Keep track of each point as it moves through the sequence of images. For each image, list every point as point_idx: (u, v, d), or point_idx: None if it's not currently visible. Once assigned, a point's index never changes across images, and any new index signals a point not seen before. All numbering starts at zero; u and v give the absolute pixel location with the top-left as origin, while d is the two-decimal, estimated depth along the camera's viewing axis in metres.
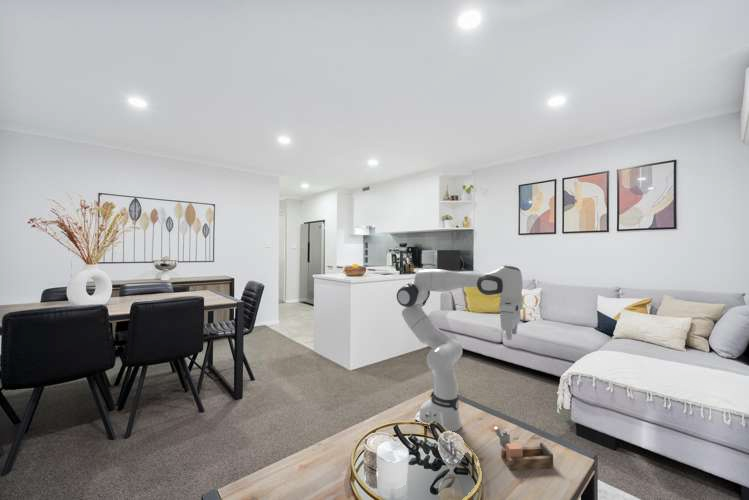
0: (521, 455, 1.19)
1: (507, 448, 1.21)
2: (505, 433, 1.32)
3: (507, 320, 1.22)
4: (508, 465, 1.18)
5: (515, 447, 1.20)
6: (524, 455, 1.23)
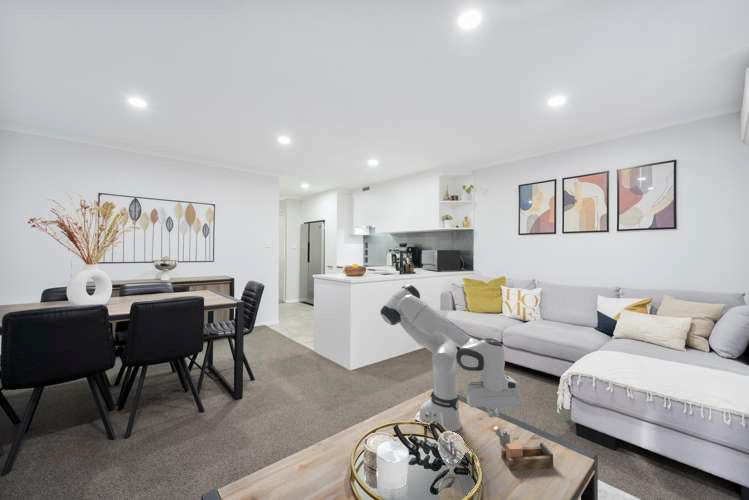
0: (521, 455, 1.19)
1: (507, 448, 1.21)
2: (505, 433, 1.32)
3: None
4: (508, 465, 1.18)
5: (515, 447, 1.20)
6: (524, 455, 1.23)
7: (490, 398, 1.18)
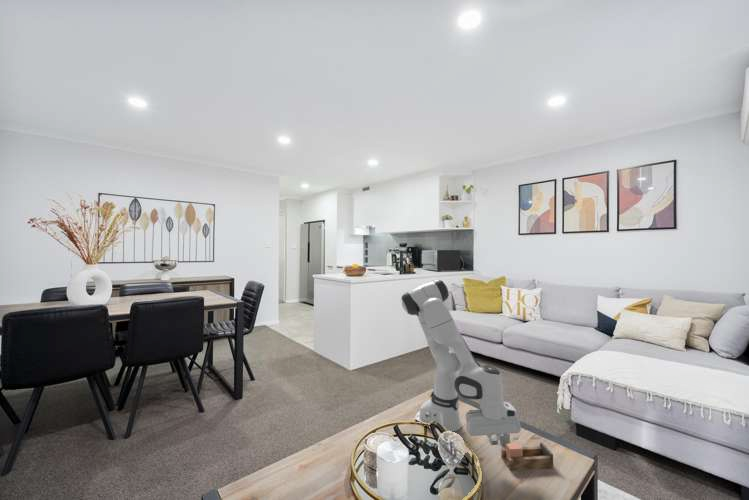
0: (521, 455, 1.19)
1: (507, 448, 1.21)
2: None
3: None
4: (508, 465, 1.18)
5: (515, 447, 1.20)
6: (524, 455, 1.23)
7: (489, 426, 1.18)
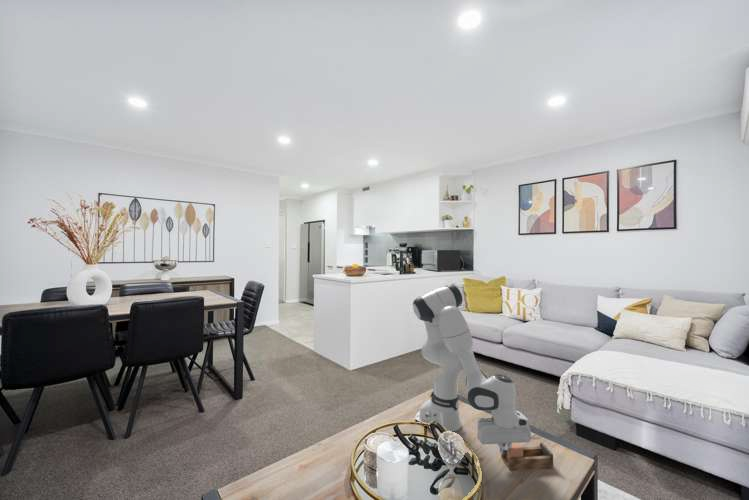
0: (521, 455, 1.19)
1: None
2: None
3: None
4: (508, 465, 1.18)
5: (515, 447, 1.20)
6: (524, 455, 1.23)
7: (501, 435, 1.18)
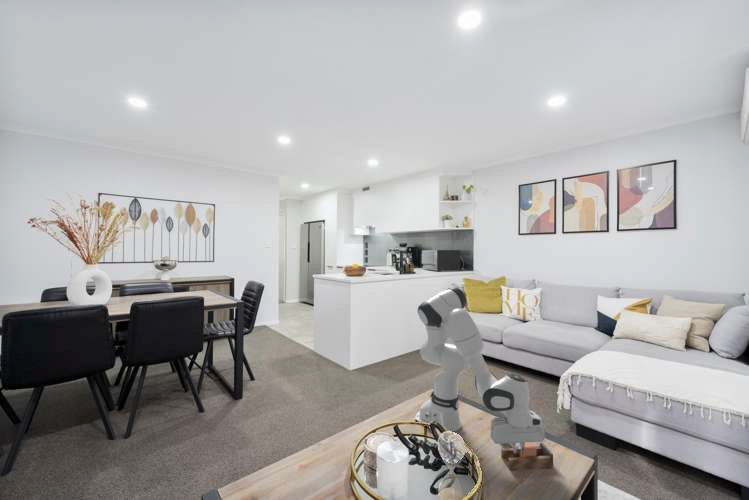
0: (535, 454, 1.19)
1: None
2: None
3: None
4: (508, 465, 1.18)
5: (529, 446, 1.20)
6: None
7: (514, 434, 1.18)
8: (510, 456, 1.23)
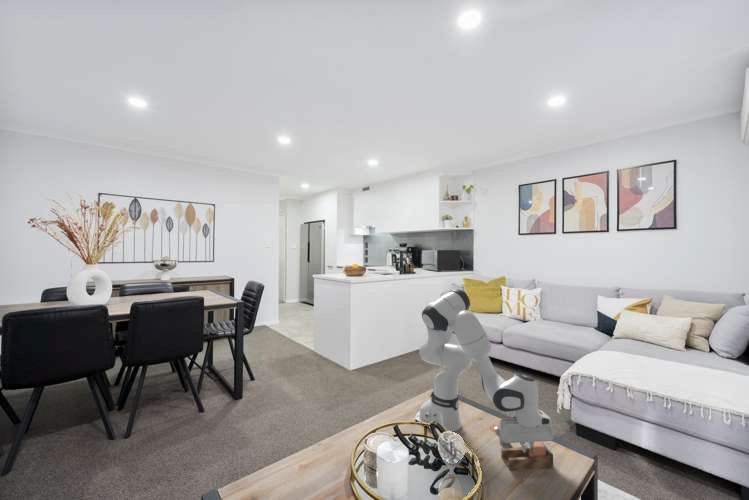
0: (544, 454, 1.19)
1: None
2: None
3: None
4: (508, 465, 1.18)
5: (538, 446, 1.20)
6: (524, 455, 1.23)
7: (523, 434, 1.19)
8: (510, 456, 1.23)
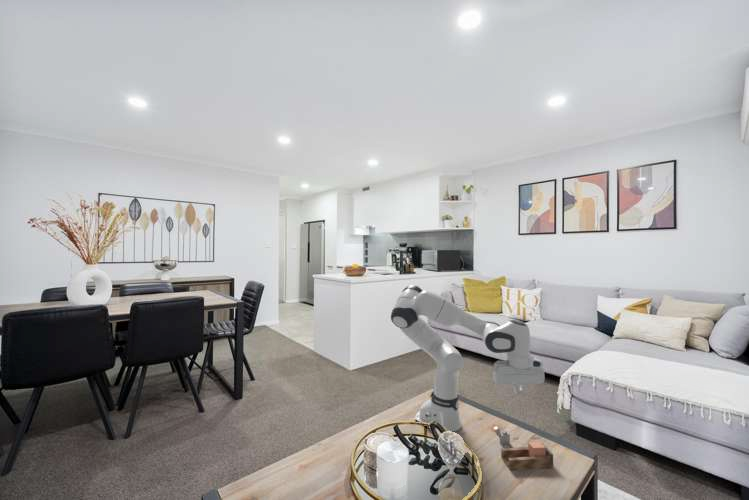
0: (544, 454, 1.19)
1: (530, 447, 1.21)
2: (505, 433, 1.32)
3: None
4: (508, 465, 1.18)
5: (538, 446, 1.20)
6: (524, 455, 1.23)
7: (515, 376, 1.25)
8: (510, 456, 1.23)
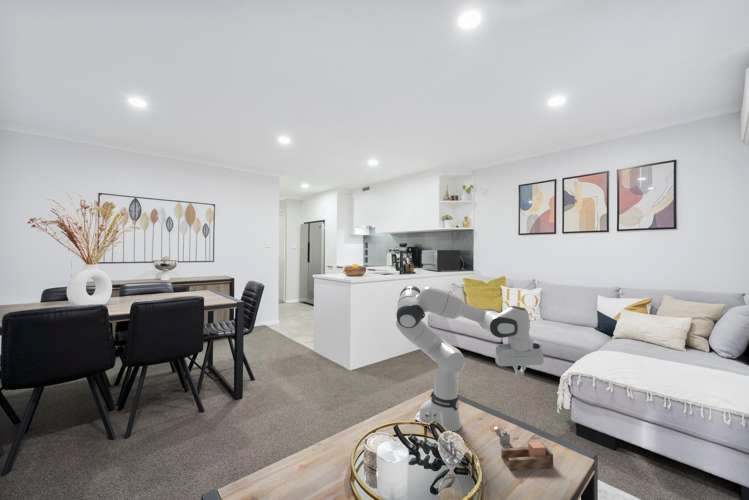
0: (544, 454, 1.19)
1: (530, 447, 1.21)
2: (505, 433, 1.32)
3: None
4: (508, 465, 1.18)
5: (538, 446, 1.20)
6: (524, 455, 1.23)
7: (516, 358, 1.32)
8: (510, 456, 1.23)
